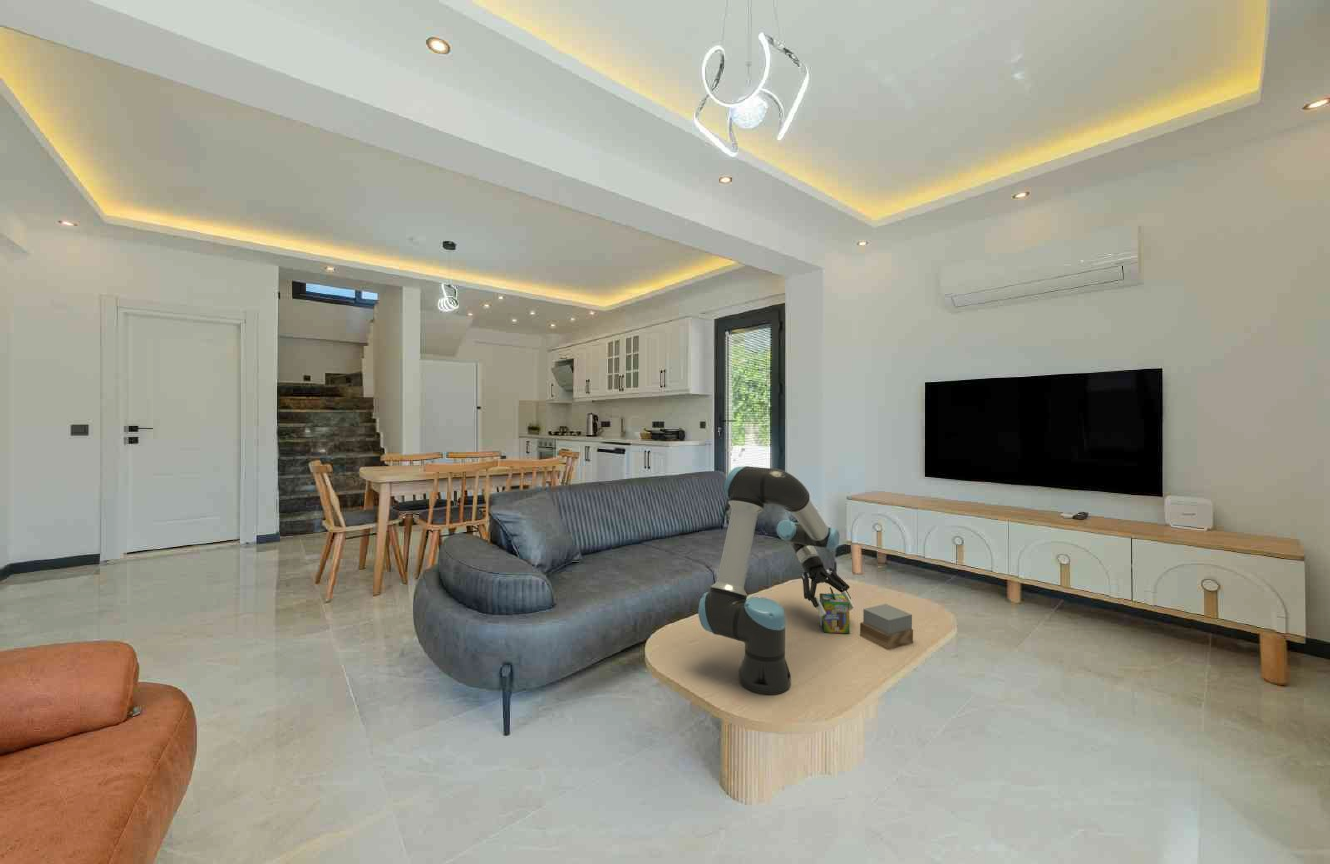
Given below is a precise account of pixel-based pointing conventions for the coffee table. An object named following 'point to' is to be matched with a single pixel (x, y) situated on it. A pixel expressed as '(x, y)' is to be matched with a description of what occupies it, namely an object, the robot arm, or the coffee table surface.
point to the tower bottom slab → (886, 637)
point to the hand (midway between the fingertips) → (837, 611)
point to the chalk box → (835, 613)
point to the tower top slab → (887, 619)
